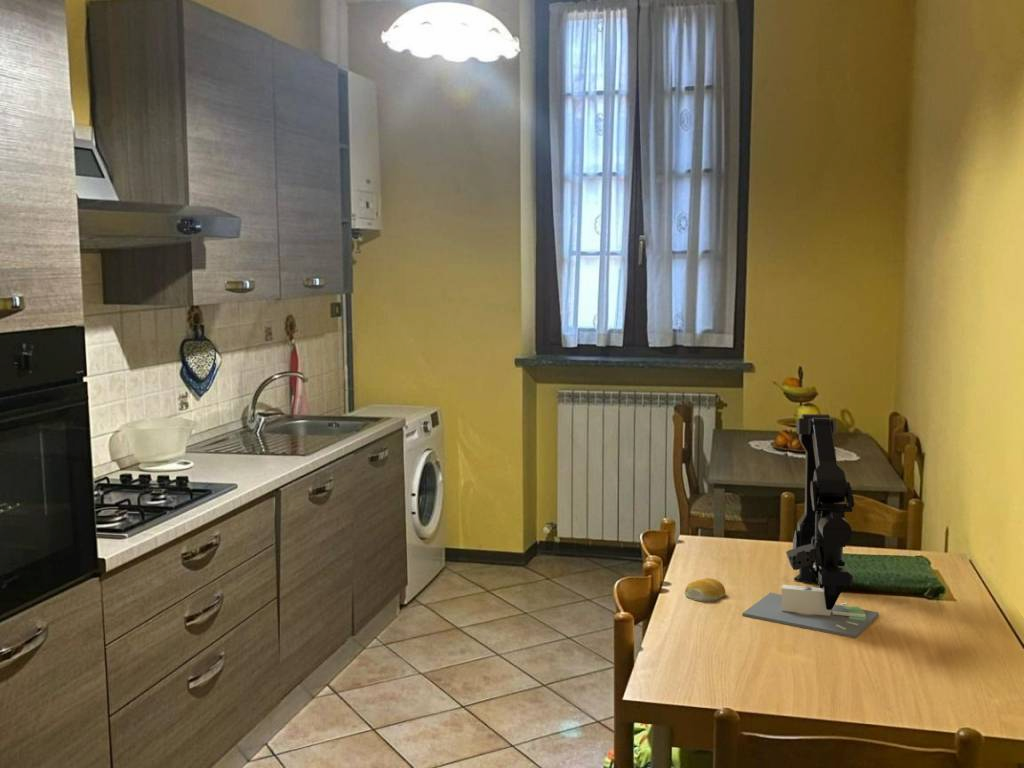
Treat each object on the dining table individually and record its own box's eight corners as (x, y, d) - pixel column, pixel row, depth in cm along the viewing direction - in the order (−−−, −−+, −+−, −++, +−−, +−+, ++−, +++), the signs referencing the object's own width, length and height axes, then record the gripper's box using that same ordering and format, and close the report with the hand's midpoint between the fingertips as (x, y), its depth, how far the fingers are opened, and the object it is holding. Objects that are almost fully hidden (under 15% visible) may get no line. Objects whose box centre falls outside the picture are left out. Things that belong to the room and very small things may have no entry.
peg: (782, 606, 220) (782, 583, 219) (865, 615, 214) (866, 591, 213) (781, 610, 217) (781, 587, 216) (865, 619, 211) (865, 595, 211)
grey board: (773, 592, 231) (774, 589, 231) (881, 612, 217) (881, 608, 217) (742, 615, 217) (742, 612, 216) (855, 638, 203) (856, 634, 203)
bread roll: (731, 595, 231) (731, 578, 230) (709, 605, 224) (709, 587, 224) (700, 587, 236) (700, 570, 236) (678, 597, 230) (678, 580, 229)
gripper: (782, 523, 224) (781, 592, 225) (798, 544, 205) (796, 619, 207) (834, 524, 223) (832, 594, 224) (854, 546, 204) (852, 621, 206)
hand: (827, 606), depth 215 cm, fingers open, 3 cm apart
